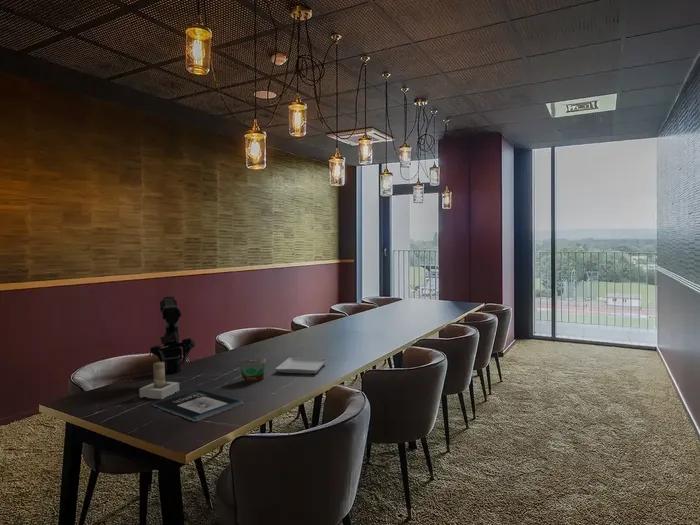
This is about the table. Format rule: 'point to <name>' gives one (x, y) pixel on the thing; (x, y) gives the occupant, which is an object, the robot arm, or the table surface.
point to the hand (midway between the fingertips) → (173, 365)
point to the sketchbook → (197, 404)
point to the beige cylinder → (159, 375)
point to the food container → (252, 370)
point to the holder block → (159, 390)
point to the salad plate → (301, 365)
